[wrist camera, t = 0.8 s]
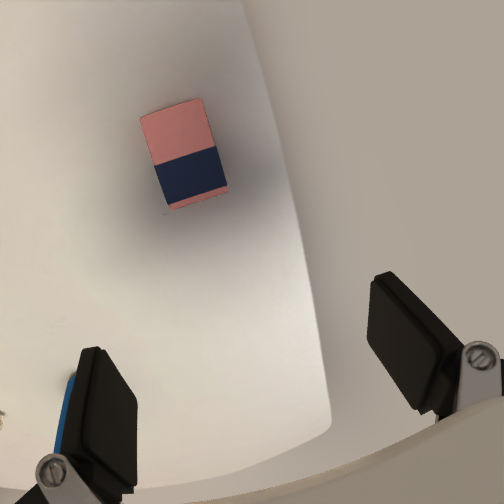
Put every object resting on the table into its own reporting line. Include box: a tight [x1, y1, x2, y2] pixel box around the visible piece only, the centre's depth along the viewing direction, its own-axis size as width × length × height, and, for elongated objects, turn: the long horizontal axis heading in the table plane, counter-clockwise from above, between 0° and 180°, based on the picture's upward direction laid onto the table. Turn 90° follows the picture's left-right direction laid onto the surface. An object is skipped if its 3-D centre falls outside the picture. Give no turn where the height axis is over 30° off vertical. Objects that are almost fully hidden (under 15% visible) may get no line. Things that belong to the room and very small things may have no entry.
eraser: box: [140, 98, 228, 210], centre depth 21 cm, size 6×4×3 cm, turn 14°
